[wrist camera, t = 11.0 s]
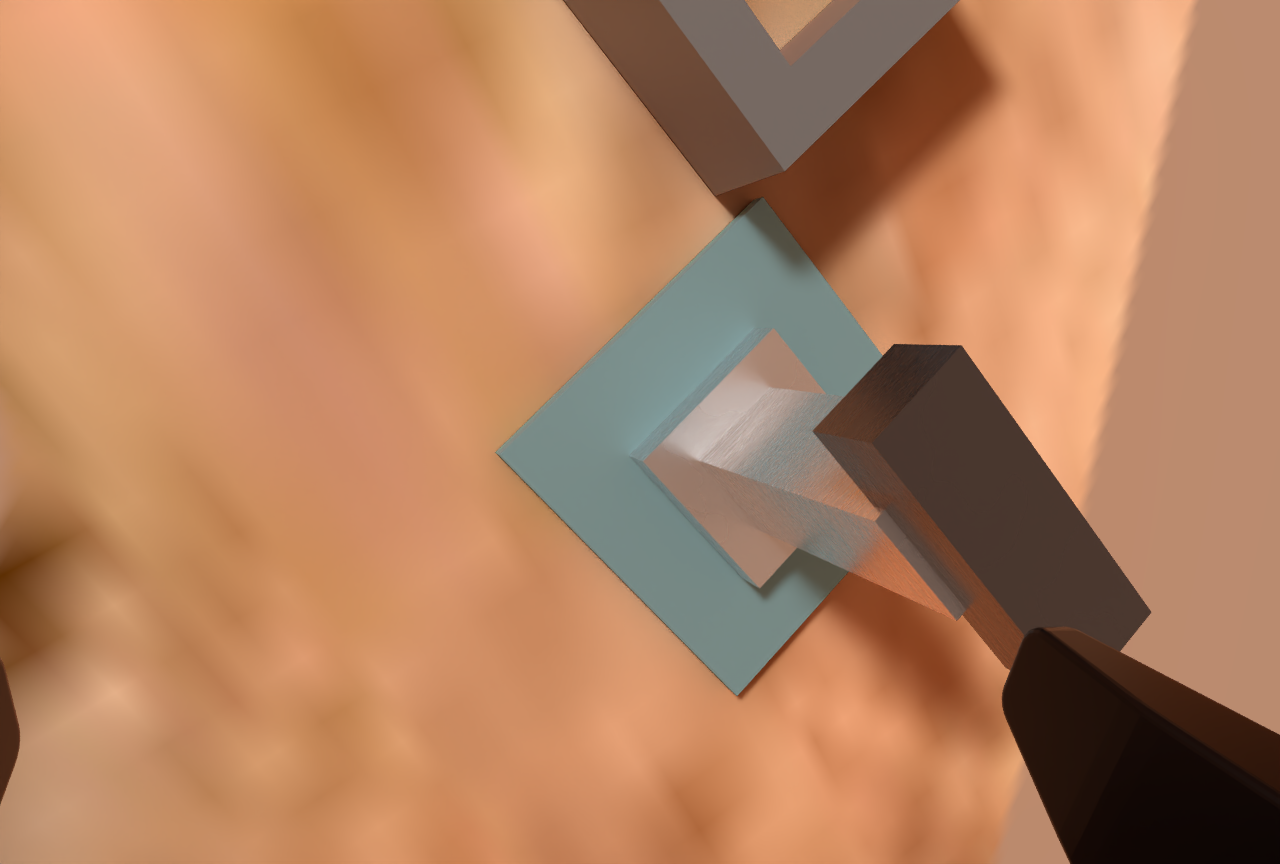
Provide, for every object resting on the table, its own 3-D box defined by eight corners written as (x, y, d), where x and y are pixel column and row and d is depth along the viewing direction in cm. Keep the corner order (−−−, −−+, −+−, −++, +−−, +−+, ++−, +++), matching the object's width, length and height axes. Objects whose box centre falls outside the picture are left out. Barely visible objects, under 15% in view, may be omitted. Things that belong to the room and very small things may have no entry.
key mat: (728, 688, 23) (737, 696, 23) (495, 452, 20) (499, 455, 20) (943, 450, 25) (955, 452, 24) (753, 199, 22) (762, 196, 21)
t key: (758, 596, 23) (1030, 762, 14) (608, 433, 21) (812, 506, 12) (871, 473, 23) (1195, 557, 15) (736, 305, 21) (1014, 287, 13)
